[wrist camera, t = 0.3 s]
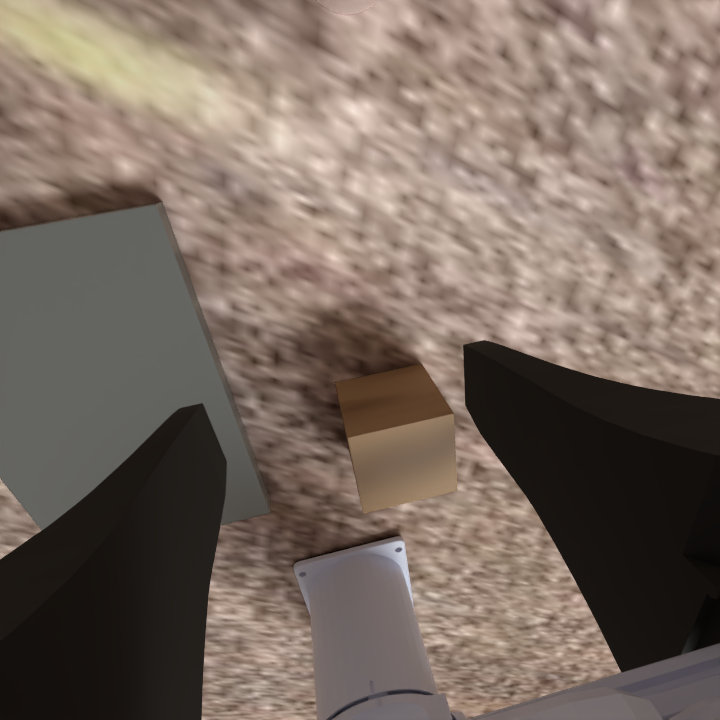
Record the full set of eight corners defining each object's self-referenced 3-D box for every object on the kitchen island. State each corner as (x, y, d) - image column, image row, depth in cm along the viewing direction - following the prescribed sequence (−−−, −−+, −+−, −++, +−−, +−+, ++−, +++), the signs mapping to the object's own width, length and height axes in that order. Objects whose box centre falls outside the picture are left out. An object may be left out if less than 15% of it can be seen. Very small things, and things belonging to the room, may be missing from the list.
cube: (427, 431, 25) (457, 490, 21) (348, 449, 25) (363, 513, 21) (421, 362, 23) (453, 413, 19) (334, 381, 23) (347, 438, 18)
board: (270, 500, 26) (270, 513, 25) (74, 547, 25) (67, 562, 24) (162, 201, 17) (156, 204, 16) (-148, 255, 16) (-172, 262, 15)
